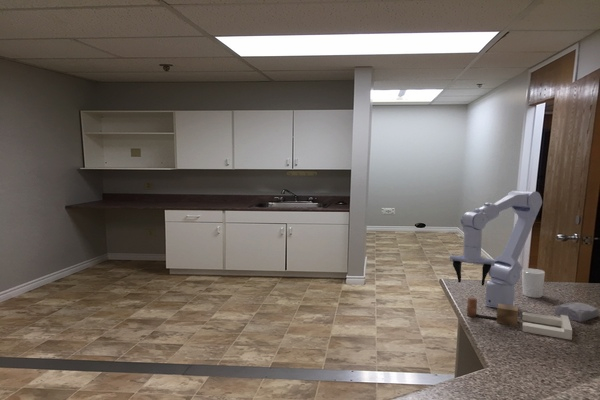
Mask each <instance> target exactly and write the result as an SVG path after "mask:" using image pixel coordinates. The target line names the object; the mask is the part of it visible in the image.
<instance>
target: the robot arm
mask: <svg viewBox="0 0 600 400" xmlns="http://www.w3.org/2000/svg"><path fill="white" fill-rule="evenodd" d="M483 204H484V205H482V206H481V207H478V208H477V207H476V208H474V210H472V211H466V212H465V213H463V215H462V216H461V219H460V224H461V226H462V231H463V252H462V253H463V254H462V255H454V254H453V255H451V254H450V255H449V262H452V267H453V268H454V271H455V273H456V276H457V283H461V282H462V263H465V264H475V265H482V269H481V270H482V276H481V286H485V281H486V278H487V275H488V276H489V277H490V280H487V282H486V291H485V293H486V294H485V297H484V300H485V306H486V307H490V308H496V309H497V307H498V303H499V304H506V305H513V306H516V305H515V304H516V303H515V302H514V301H515V300H514V299H515V285H517V284H518V282H519V281H520V279H521V274H522V269H523V267H522V265H521V264H520V263H521V262H519V258H520V256H521V254H522V253H523V252H522V251H523V249H524V246H525V244H526V242H527V239H528V237H529V236H530V232H531V230H532V229H533V226H534V223H535V221H536V219H537V216H538V214H539V212H540V209H541V207H542V204H543V199H542V196H541V193H540V192H539V191H525V190H518V189H513V190H512V191H510V192H507V195H506V196H504V197H503V198H500V199H499V200H497V201H496V202H494V203H493V202H485V203H483ZM510 208H511V209H512V211H513V212H514V213H515V214H516V215H517V217H518V218H517V220H516V221H515V224H514V227H513V229H512V232H511V233H510V235H509V238H508V241H507V243H506V245H505V248H504V250H503V252H502V254H501V255H498V256H496V257H495V258H494V259H491V258H485V257H482V239H483V237H482V235H483V233H482V232H483V229H484V228H485V227H486V225H487V223H488V224H489V222H491V221H492V220H494V219H497V218H498V217H499V215H500V212H502V211H505V210H507V209H510Z"/></svg>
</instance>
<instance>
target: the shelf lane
mask: <svg viewBox="0 0 600 400" xmlns="http://www.w3.org/2000/svg"><path fill="white" fill-rule="evenodd" d="M521 318H522V329H521V330H522V332H523V333H530V334H537V335H541V336H548V337H554V338H559V339H565V340H571V341H572V338H573V329H572V325H571V324H572V323H571V322H570V319H569V318H568V316H566V315H561V316H559V317H558V316H553V315H546V314H540V313H535V312H534V313H533V312H532V313H531V312H526V311H523V312H522V317H521Z"/></svg>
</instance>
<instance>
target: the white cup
mask: <svg viewBox="0 0 600 400" xmlns="http://www.w3.org/2000/svg"><path fill="white" fill-rule="evenodd" d="M545 275H546V272H545V270H543V269H538V268H530V267H529V268H525V267H524V268H522V269H521V286H522V295H523V296H525V297H528V298H537V299H538V298H541V297H543V290H544V283H545Z"/></svg>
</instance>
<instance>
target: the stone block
mask: <svg viewBox="0 0 600 400" xmlns="http://www.w3.org/2000/svg"><path fill="white" fill-rule="evenodd" d="M554 312H555V315H556V316H559V317H561V315H566V316H568V318H569V320H572V321H575V322H578V323H582V322H586V321H589V320H591V319H595V318H597V317H598V316H599V308H598V307H594V306H593V305H590V304H587V303H584V302H570V301H569V302H566V303H563V304H561V305H557V306H555V307H554Z"/></svg>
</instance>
